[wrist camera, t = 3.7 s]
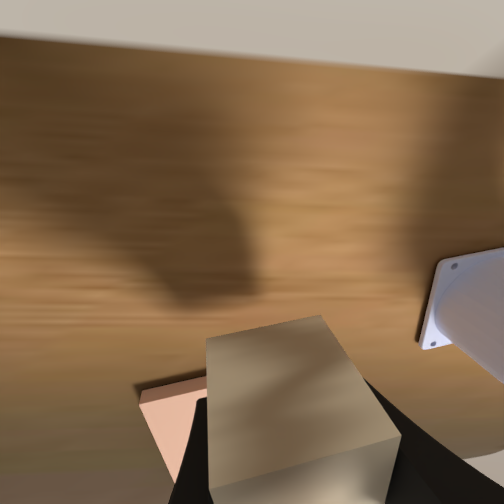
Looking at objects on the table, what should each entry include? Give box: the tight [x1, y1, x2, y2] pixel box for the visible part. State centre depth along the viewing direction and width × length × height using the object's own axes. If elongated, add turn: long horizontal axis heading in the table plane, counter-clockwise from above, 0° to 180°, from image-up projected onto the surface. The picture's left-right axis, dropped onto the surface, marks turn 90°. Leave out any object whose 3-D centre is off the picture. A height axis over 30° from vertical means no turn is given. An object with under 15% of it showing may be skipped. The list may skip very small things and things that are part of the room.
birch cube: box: [206, 315, 402, 504], centre depth 10 cm, size 5×5×5 cm
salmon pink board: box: [139, 376, 207, 483], centre depth 20 cm, size 12×12×1 cm
